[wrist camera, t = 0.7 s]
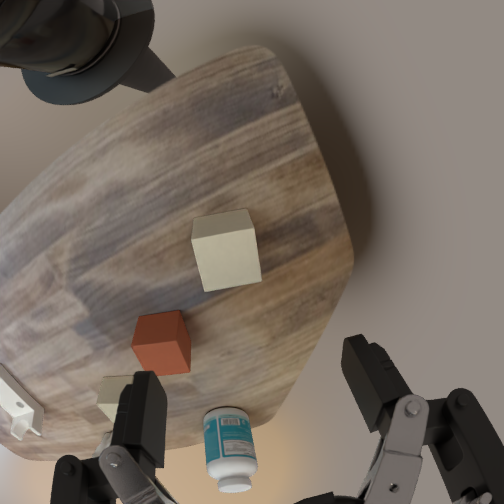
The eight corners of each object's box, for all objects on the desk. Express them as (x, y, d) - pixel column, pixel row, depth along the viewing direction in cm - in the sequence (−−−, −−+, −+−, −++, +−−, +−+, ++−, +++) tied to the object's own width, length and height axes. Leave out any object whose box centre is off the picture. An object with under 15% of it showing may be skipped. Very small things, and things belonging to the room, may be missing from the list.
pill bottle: (216, 430, 44) (222, 497, 32) (194, 412, 41) (197, 487, 29) (255, 419, 44) (268, 488, 32) (237, 400, 40) (249, 478, 28)
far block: (103, 376, 35) (96, 403, 31) (132, 375, 35) (127, 403, 31) (117, 396, 37) (112, 422, 33) (146, 395, 38) (143, 422, 33)
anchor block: (138, 316, 31) (130, 346, 26) (179, 309, 31) (176, 340, 27) (152, 346, 33) (148, 377, 29) (191, 341, 33) (190, 372, 29)
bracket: (44, 405, 39) (41, 435, 33) (24, 412, 37) (19, 440, 31) (1, 359, 33) (-10, 388, 26) (-19, 369, 31) (-29, 396, 25)
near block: (193, 217, 27) (190, 239, 22) (246, 207, 27) (254, 227, 23) (204, 264, 29) (204, 292, 25) (254, 255, 29) (262, 281, 25)
